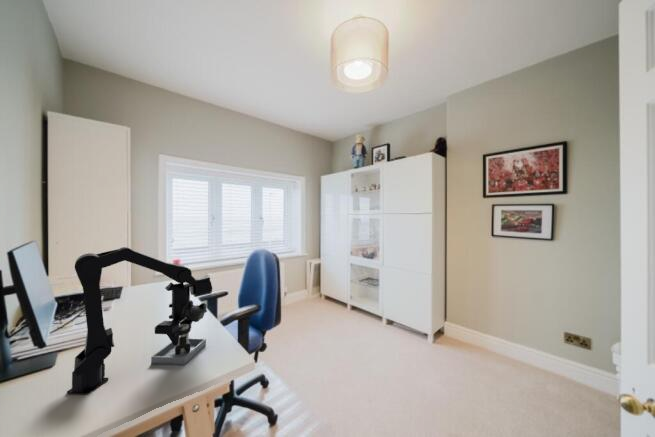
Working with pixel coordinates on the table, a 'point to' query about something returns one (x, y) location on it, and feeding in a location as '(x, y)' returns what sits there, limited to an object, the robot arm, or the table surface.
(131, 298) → the table surface
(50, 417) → the table surface
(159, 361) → the tray
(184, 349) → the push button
